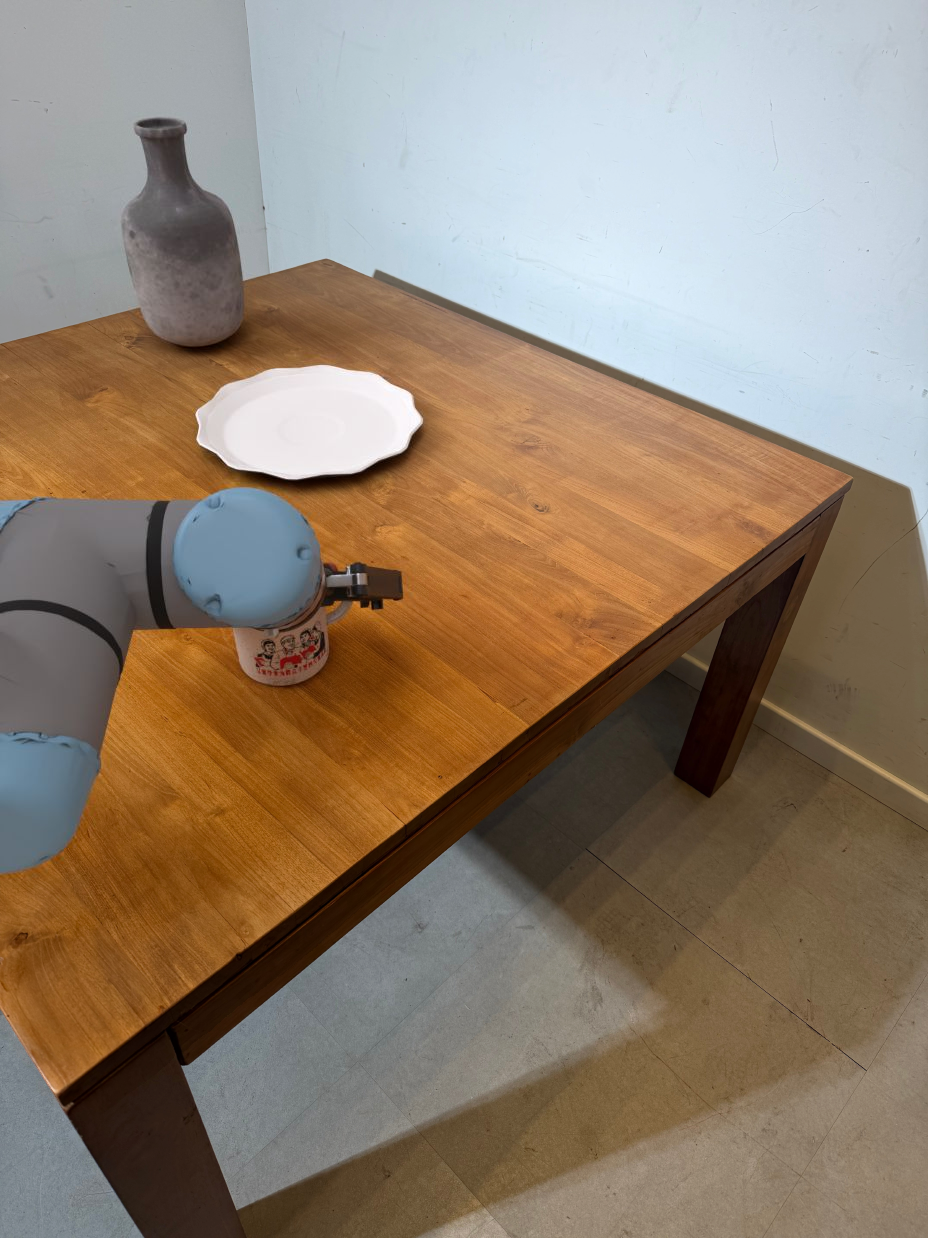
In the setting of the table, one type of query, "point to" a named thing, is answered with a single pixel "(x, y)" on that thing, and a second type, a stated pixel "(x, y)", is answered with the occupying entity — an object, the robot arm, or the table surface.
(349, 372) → the plate
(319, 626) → the teacup with lid
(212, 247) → the vase
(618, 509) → the table surface
